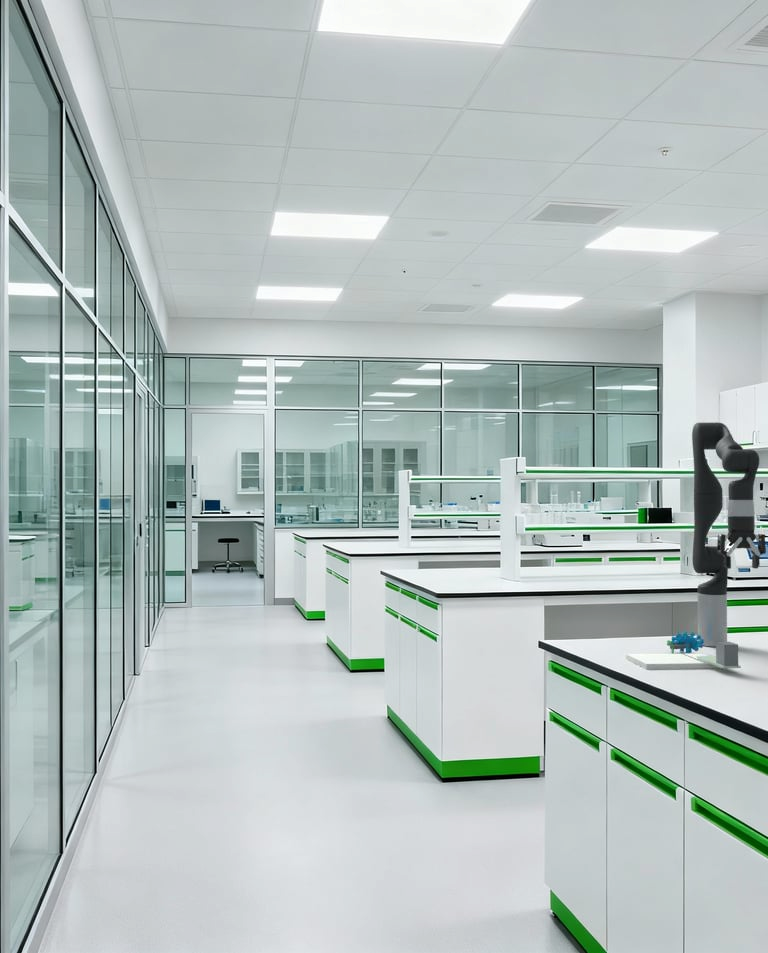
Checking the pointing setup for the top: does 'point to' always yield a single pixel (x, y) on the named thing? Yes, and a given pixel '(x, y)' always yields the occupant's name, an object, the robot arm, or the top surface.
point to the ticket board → (669, 661)
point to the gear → (685, 642)
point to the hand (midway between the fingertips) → (741, 568)
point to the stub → (723, 655)
